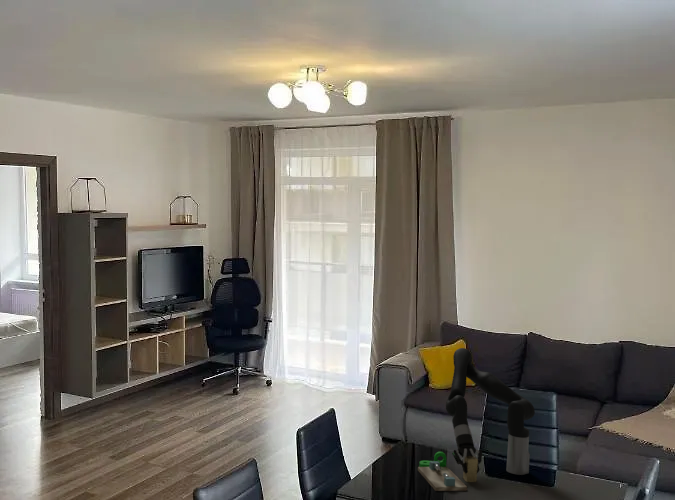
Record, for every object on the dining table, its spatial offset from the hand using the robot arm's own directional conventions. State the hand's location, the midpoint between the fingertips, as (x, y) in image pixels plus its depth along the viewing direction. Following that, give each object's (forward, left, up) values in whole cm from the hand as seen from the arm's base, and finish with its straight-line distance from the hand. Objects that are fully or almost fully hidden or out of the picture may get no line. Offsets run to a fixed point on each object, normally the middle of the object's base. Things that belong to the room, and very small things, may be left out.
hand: (471, 472), depth 298 cm
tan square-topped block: (0, -2, -4) cm, 5 cm away
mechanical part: (+11, -19, -5) cm, 23 cm away
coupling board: (+13, -2, -4) cm, 14 cm away
